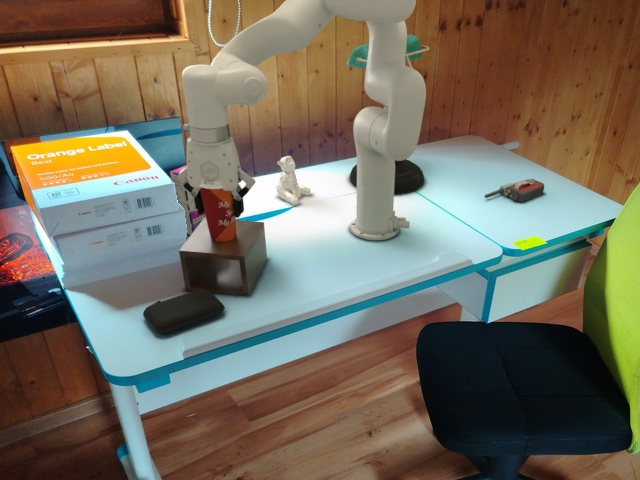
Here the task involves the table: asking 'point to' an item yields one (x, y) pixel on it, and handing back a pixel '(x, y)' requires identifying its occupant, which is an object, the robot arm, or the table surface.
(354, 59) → the banker's lamp
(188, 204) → the candy bar box
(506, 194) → the walkie-talkie
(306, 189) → the seated beast figurine
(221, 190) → the paper cup
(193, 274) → the shelf
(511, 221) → the table surface
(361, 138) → the robot arm
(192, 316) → the carrying case
